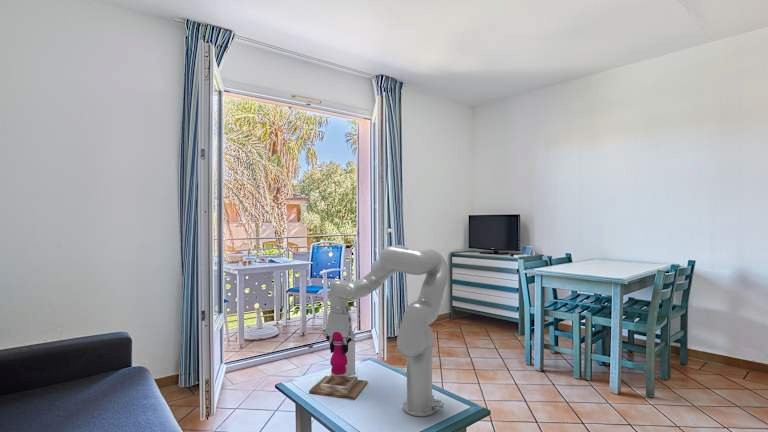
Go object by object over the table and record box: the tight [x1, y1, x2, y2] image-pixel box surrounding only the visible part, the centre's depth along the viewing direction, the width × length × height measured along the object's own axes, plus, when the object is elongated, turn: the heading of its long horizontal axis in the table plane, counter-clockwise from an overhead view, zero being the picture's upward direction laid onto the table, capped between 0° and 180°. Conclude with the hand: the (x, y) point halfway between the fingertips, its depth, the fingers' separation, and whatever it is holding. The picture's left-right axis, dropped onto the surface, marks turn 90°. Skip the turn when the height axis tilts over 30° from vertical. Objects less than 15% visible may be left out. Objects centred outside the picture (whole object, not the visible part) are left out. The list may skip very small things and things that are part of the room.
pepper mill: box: [329, 332, 347, 375], centre depth 166 cm, size 7×7×20 cm
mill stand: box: [308, 373, 369, 401], centre depth 166 cm, size 20×16×3 cm
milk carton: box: [342, 335, 356, 376], centre depth 182 cm, size 7×7×19 cm
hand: (339, 352), depth 166 cm, fingers closed on pepper mill, 5 cm apart
